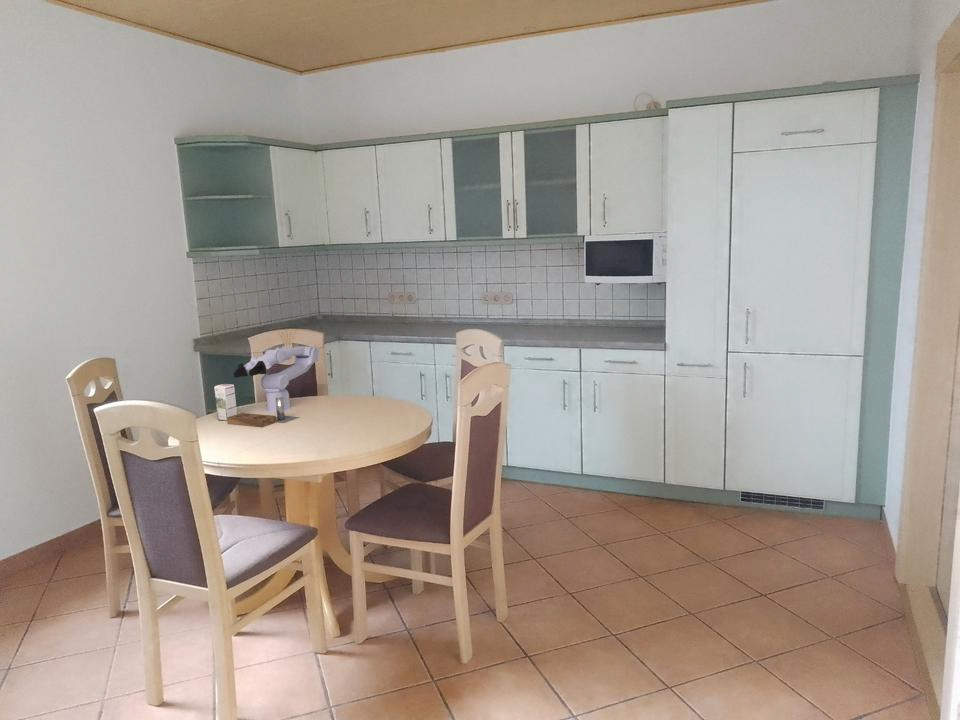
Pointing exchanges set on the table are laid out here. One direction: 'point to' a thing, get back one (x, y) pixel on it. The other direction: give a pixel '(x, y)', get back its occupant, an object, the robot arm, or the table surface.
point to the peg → (280, 409)
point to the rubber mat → (287, 419)
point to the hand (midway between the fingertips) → (242, 374)
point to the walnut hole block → (251, 420)
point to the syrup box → (225, 401)
